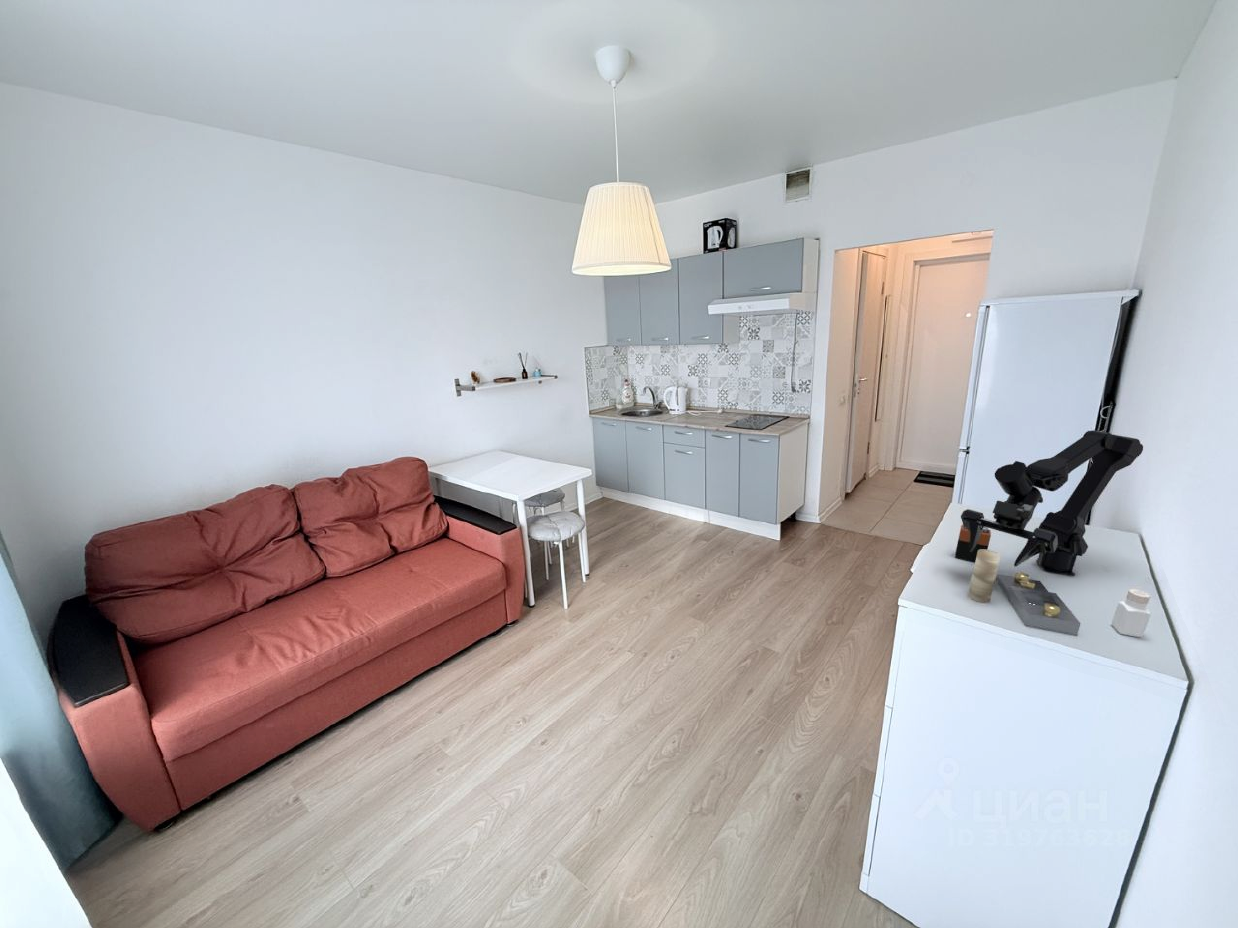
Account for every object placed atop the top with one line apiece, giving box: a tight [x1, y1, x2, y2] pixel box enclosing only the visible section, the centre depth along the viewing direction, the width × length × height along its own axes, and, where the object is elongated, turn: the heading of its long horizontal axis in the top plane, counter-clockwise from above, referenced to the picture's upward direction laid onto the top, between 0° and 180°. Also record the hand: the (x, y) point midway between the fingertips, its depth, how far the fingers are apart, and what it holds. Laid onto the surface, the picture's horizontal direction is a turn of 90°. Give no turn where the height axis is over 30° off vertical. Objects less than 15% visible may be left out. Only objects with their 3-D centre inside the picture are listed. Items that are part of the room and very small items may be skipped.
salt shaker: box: [1111, 588, 1152, 638], centre depth 103 cm, size 4×4×10 cm
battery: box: [955, 524, 992, 563], centre depth 136 cm, size 4×7×10 cm, turn 54°
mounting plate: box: [995, 571, 1081, 636], centre depth 114 cm, size 9×22×5 cm, turn 157°
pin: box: [967, 549, 1002, 604], centre depth 116 cm, size 4×4×12 cm
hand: (991, 558), depth 117 cm, fingers open, 9 cm apart
